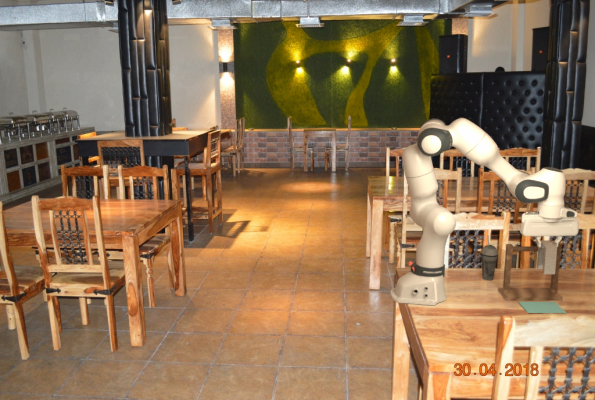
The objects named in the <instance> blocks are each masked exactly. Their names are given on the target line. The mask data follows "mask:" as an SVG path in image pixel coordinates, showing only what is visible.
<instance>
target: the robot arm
mask: <svg viewBox="0 0 595 400" xmlns="http://www.w3.org/2000/svg"><path fill="white" fill-rule="evenodd" d="M452 147H454V148H455V149H456V150H458V151H459V152H460V153H461V154H462V155H463V156H465V157H466V158H467V159H468V160H469V161H471V162H473V163H474V164H476V165H478V166H483V167H486V168H488V169H489V170H491V172H493V173H494V174H495V175H496V176H497V177H498V178H499V179H501V180H502V181H503V182H504V185H505V187H506V189H507V191H508V193H509V194H510V195H511V196H513V197H514V198H515V199H516V200H518V201H519V202H520V203H523V204H535V203H536V204H537V211H535V210H534V211H525V212H523V213H522V214H521V218H520V221H521V223H520V227H519V232H520V233H519V234H521V235H522V236H524V237H534V239H535V240H536V242H537V243H536V246H538V247H543V243H542V242H540V241H541V238H542V237H555V240H554V241H551V242H552V243H554V244H555V245H556V246H557V247H558V244H560V242H561V240H562V238H563V237H571V236H572V237H575V236H577V235H578V233H579V229H580V227H579V219H578V218H577V217H578V215H579V213H578V212H577V211H576V210H575V209H572V208H570V207H567V206H565V200H564V197H565V195H566V189H567V187H566V185H567V179H566V178H567V177H566V174H565V172H564V171H562V170H561V169H559V168H556V167H550V166H546V167H542V168H541V170H538V171H537V172H535V173H531V174H530V173H528V172H526V171H523V170H520V169H517V168H515V167H514V166H513V165H512V164H510V163H509V162H508V161H507V159H505V158H504V157H503V156H502V155H501V154H500V152H499V148H498V145H497V143H496V142H495V141H494V139H493V138H492V137H491V136H490V135H489V134H488V133H487V132H486V131H485V130H483V129H482V128H481V127H479V126H478V125H477V124H475V123H474V122H472V121H471V120H469V119H467V118H464V117H459V118H457V119H455V120H453V121H452V122H451V123H450V124H449V125H447V124H446V122H444V120H441V119H439V118H430V119H427V120H426V121H424V123H422V125H421V126H420V128H419V130H418V133H417V140H416V142H415V143H412V144H410V145H408V146H406V147H405V148H404V149H403V151H402V152H401V153H402V154H401V156H402V157H401V158H402V166H403V172H404V176H405V179H406V182H407V183H406V184H407V185H408V191H409V195H410V207H409V217H410V218H411V220H412V221H413V222H414V223H415V225H417V226H419V227H420V228H421V229H422V234H421V238H420V240H419V241H418V242H417V243H416V248H415V249H416V250H415V251H416V255H415V262H413V261H412V260H409V261H408V263H407V264H408V266H409V268H410V270H409V271H408V272H406V273H405V274H403V275H402V276H400V277H399V278H398V279H397V282H396V286H395V287H392V288H391V290H390V292H389V294H390V298H391V299H392V300H393V301H394V302H396V303H398V304H411V305H423V306H436V305H438V304H439V303H441V302H444V301H446V300H447V298H448V297H447V294H446V288H445V275H446V265H445V252H446V251H445V250H446V244H447V241H448V238H449V236H450V235H451V234H452V233H453V232H454V230H455V228H456V225H457V220H456V217H455V215H454V213H452V212H451V211H450V210H449V209H448V208H446V207H444V206H442V205H440V204H439V203H438V201H437V192H438V190H439V183H438V179H437V176H436V172H435V168H434V166H433V161H432V157H437V156H440V155H441V154H443V153H444V152H446V151H448V150H450V149H451V148H452Z"/></svg>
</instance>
